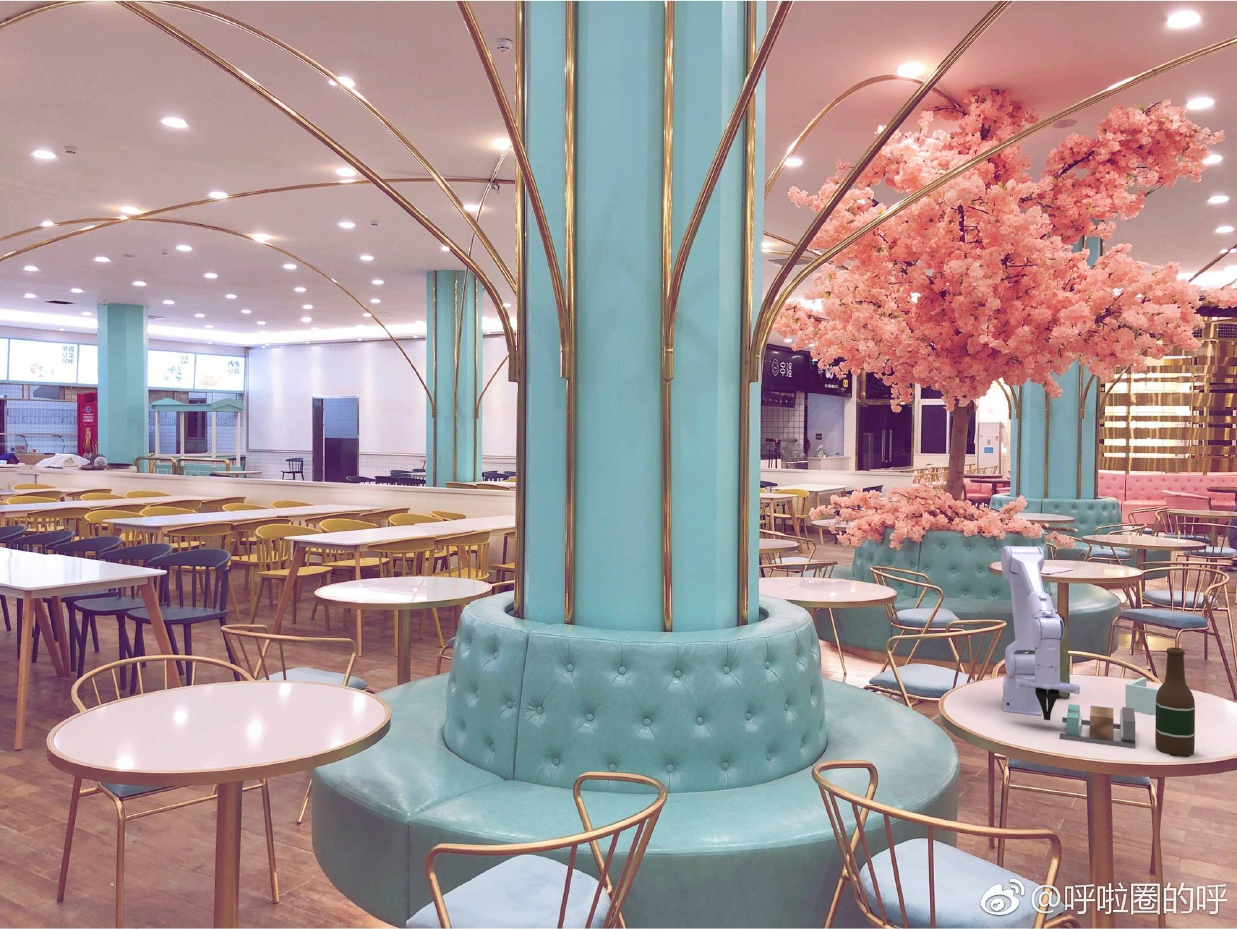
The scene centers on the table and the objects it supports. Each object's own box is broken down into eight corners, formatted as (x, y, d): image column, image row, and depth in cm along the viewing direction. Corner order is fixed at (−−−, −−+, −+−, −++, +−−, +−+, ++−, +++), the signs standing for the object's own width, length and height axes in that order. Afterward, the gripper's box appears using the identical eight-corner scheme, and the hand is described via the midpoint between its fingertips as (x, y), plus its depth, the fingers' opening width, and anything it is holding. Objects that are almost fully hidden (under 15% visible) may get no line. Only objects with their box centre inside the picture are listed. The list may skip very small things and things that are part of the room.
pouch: (1070, 702, 256) (1070, 612, 256) (1023, 697, 261) (1023, 609, 261) (1069, 693, 266) (1070, 606, 266) (1024, 688, 271) (1024, 603, 271)
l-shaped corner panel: (1175, 721, 240) (1175, 692, 240) (1125, 712, 249) (1125, 684, 249) (1190, 713, 248) (1191, 685, 248) (1142, 704, 257) (1142, 677, 256)
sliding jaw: (1066, 737, 224) (1066, 717, 224) (1068, 723, 235) (1068, 704, 235) (1080, 739, 223) (1080, 718, 222) (1081, 725, 234) (1081, 705, 234)
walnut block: (1089, 740, 223) (1090, 715, 223) (1090, 729, 232) (1090, 705, 232) (1113, 743, 221) (1113, 718, 221) (1113, 732, 229) (1113, 708, 229)
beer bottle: (1194, 759, 209) (1195, 653, 208) (1154, 753, 213) (1155, 649, 212) (1194, 750, 215) (1195, 647, 215) (1155, 744, 219) (1156, 643, 219)
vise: (1059, 739, 223) (1059, 714, 223) (1062, 721, 238) (1062, 698, 238) (1135, 749, 216) (1135, 723, 216) (1133, 730, 230) (1133, 706, 230)
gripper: (1014, 665, 231) (1014, 719, 232) (1079, 671, 225) (1078, 727, 225) (1017, 659, 238) (1016, 712, 238) (1080, 665, 231) (1079, 719, 231)
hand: (1047, 719), depth 232 cm, fingers closed
